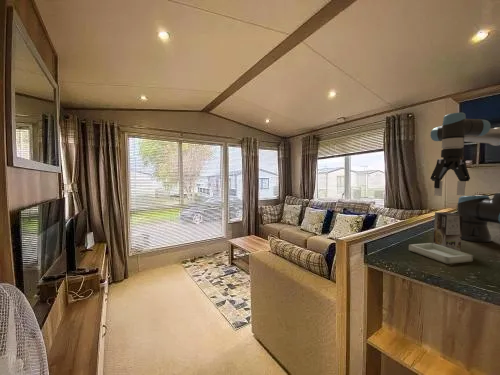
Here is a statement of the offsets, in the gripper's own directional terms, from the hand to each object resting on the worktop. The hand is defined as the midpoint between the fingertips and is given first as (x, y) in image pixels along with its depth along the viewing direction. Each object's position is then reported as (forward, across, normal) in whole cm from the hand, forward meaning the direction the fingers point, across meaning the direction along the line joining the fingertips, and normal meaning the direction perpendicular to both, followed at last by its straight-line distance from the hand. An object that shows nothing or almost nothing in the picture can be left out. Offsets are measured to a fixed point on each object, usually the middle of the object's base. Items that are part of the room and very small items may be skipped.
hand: (449, 195), depth 103 cm
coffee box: (+25, 0, 0) cm, 25 cm away
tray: (+24, +14, +7) cm, 29 cm away
